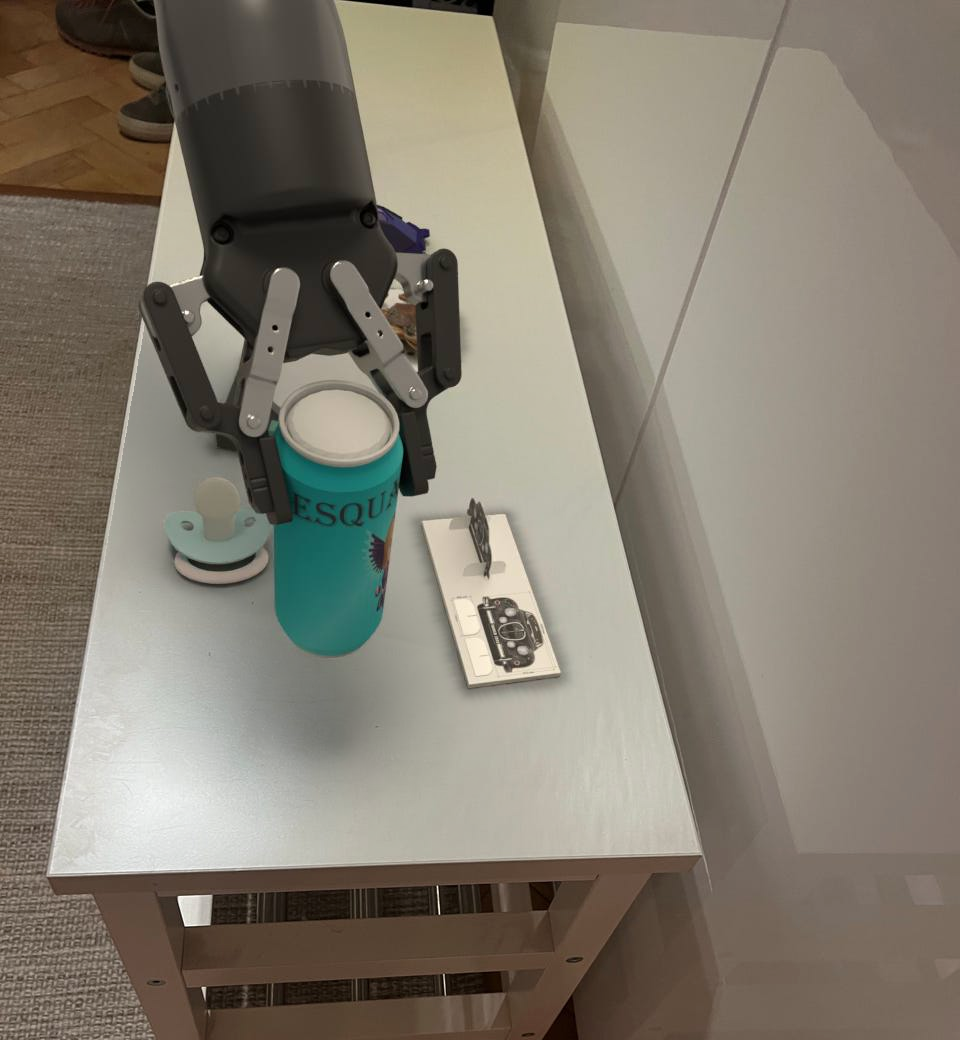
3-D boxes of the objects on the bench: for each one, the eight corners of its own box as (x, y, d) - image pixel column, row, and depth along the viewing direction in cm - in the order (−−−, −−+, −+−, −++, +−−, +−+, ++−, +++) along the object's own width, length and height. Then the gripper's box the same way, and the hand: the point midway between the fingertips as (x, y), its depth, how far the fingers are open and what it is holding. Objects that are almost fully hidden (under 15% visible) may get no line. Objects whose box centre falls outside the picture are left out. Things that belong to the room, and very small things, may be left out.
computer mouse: (264, 223, 95) (263, 183, 92) (410, 212, 100) (414, 174, 97) (290, 281, 90) (290, 242, 87) (442, 267, 95) (447, 229, 92)
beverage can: (376, 674, 53) (402, 474, 41) (268, 663, 52) (262, 457, 40) (384, 590, 57) (410, 383, 45) (282, 580, 56) (280, 366, 44)
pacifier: (277, 585, 70) (269, 520, 73) (276, 527, 65) (268, 461, 68) (169, 592, 68) (166, 525, 71) (159, 534, 63) (156, 465, 66)
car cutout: (421, 524, 75) (427, 482, 72) (504, 517, 77) (514, 476, 73) (467, 688, 67) (477, 650, 64) (559, 676, 69) (574, 638, 65)
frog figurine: (486, 359, 88) (493, 323, 85) (363, 387, 83) (365, 350, 80) (429, 284, 93) (434, 247, 90) (310, 306, 89) (311, 268, 86)
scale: (216, 447, 77) (214, 418, 74) (250, 359, 83) (248, 329, 81) (395, 479, 78) (398, 451, 75) (414, 389, 84) (417, 361, 82)
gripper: (88, 80, 35) (203, 547, 39) (457, 63, 40) (527, 477, 44) (81, 147, 42) (179, 539, 46) (398, 125, 47) (462, 479, 51)
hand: (350, 507), depth 45 cm, fingers closed on beverage can, 5 cm apart
